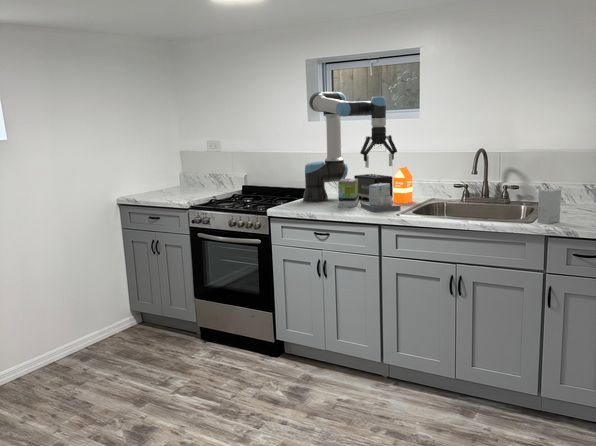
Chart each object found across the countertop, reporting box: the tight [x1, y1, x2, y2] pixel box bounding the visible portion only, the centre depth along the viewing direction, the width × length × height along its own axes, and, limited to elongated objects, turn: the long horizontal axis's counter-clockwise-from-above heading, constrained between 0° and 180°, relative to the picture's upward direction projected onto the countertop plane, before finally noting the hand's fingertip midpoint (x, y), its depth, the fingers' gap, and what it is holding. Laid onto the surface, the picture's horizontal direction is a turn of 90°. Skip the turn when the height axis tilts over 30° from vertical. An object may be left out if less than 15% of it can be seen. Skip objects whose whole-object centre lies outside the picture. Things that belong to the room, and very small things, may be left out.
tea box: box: [337, 178, 359, 208], centre depth 316 cm, size 15×10×15 cm, turn 168°
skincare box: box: [537, 187, 562, 225], centre depth 246 cm, size 8×6×15 cm
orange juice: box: [392, 166, 413, 204], centre depth 319 cm, size 8×9×20 cm
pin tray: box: [360, 196, 401, 213], centre depth 300 cm, size 19×15×8 cm
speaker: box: [353, 173, 394, 200], centre depth 334 cm, size 22×13×15 cm, turn 28°
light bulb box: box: [368, 183, 390, 205], centre depth 299 cm, size 11×7×11 cm, turn 136°
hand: (378, 166), depth 297 cm, fingers open, 13 cm apart
